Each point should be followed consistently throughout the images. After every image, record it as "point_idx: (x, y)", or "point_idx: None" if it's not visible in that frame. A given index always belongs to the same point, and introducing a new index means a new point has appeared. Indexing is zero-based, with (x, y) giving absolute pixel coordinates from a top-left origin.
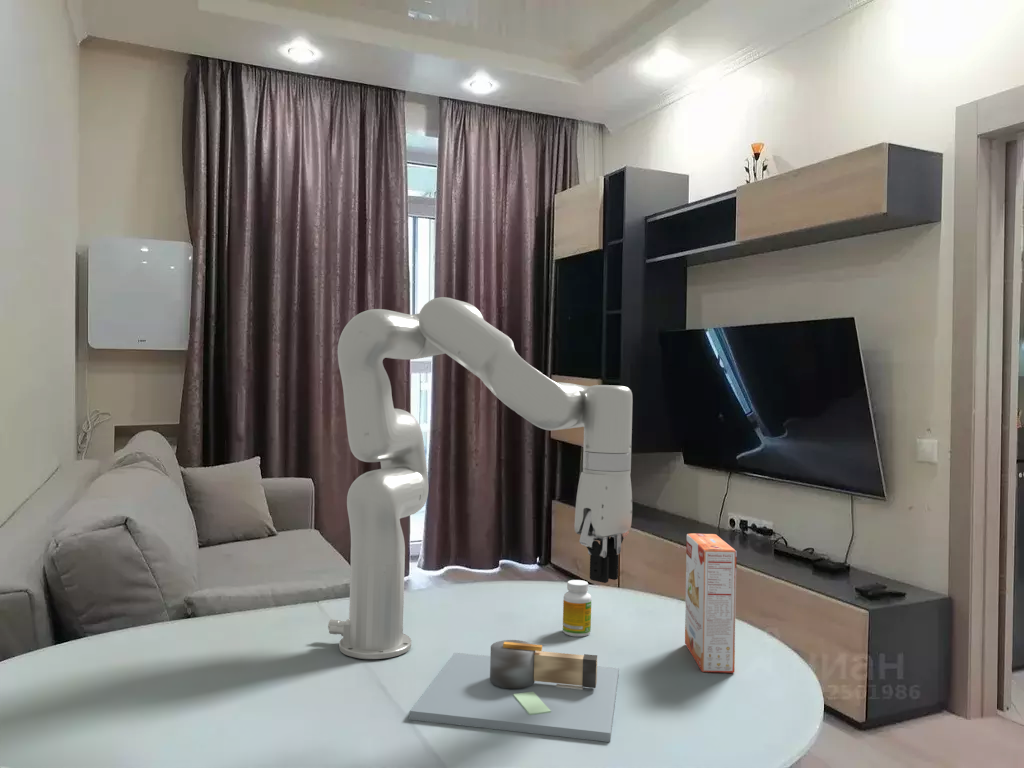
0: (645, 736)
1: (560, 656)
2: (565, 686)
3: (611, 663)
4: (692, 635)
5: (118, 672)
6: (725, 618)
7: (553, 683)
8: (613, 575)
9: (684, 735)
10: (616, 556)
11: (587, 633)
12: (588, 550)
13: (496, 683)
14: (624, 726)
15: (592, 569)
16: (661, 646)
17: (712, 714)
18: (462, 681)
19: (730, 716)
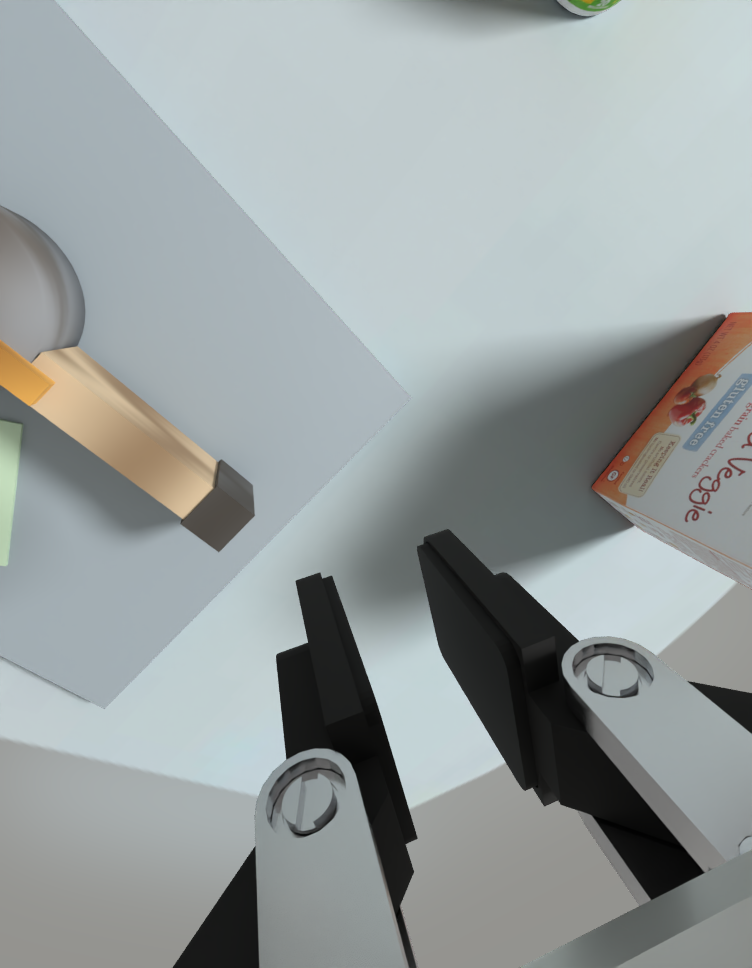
0: (208, 695)
1: (114, 457)
2: None
3: (457, 304)
4: (706, 415)
5: None
6: (747, 583)
7: (138, 392)
8: (446, 659)
9: None
10: (535, 787)
11: (593, 14)
12: (259, 834)
13: None
14: (196, 644)
15: (282, 685)
16: (674, 281)
17: (417, 663)
18: None
19: (439, 681)
